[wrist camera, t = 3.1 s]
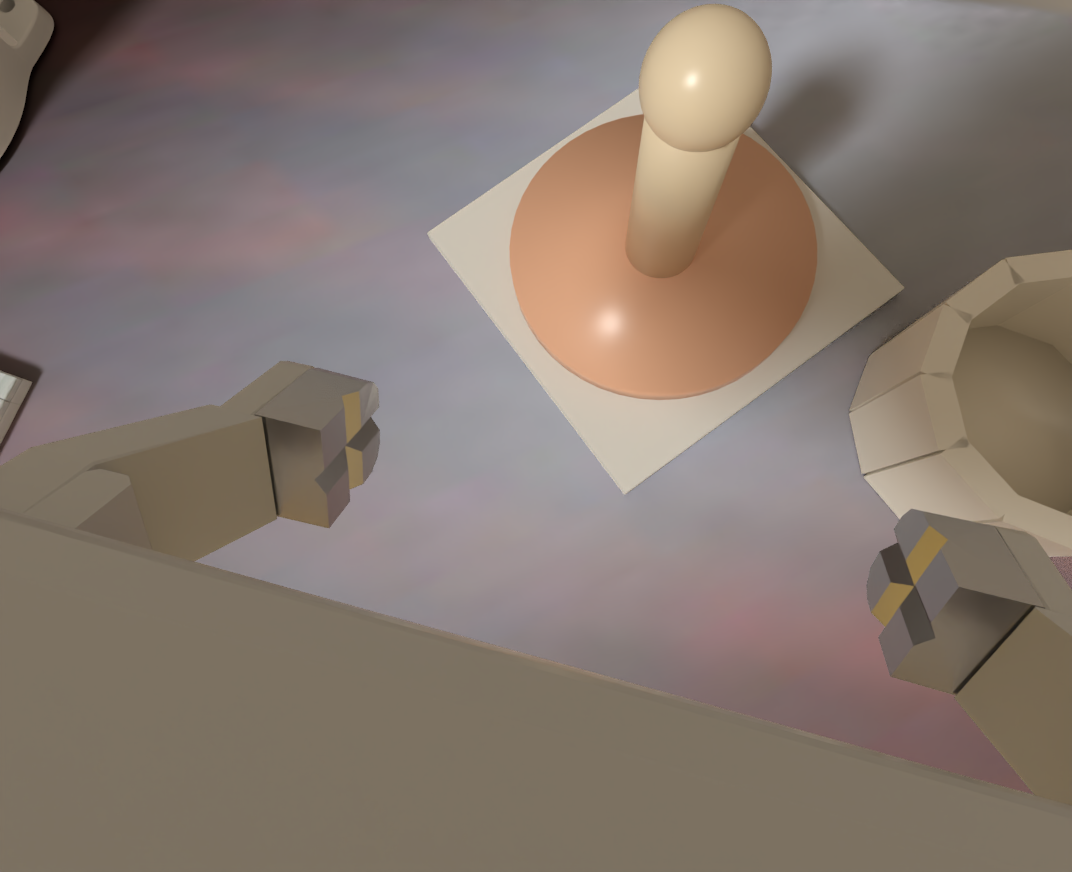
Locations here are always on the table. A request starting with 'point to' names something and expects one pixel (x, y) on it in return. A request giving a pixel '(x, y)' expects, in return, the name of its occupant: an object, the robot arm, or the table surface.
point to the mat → (642, 424)
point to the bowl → (979, 404)
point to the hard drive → (10, 399)
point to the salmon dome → (669, 226)
